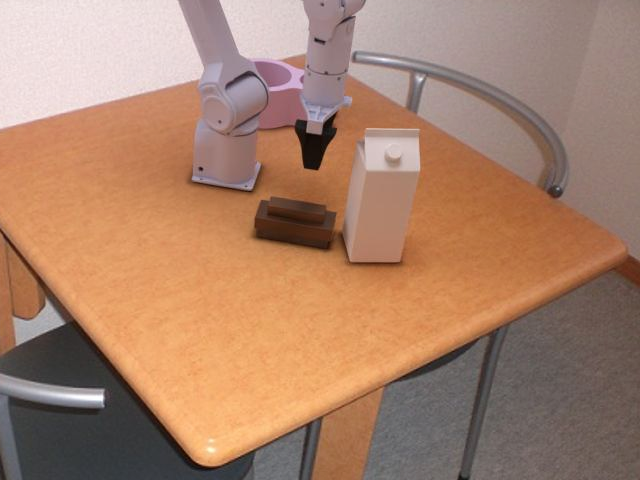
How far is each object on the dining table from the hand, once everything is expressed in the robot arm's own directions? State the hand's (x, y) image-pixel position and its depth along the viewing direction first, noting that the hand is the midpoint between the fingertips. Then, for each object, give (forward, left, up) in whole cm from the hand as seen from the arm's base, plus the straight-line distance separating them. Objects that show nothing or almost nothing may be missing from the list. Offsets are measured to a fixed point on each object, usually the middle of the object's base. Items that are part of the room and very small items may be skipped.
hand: (315, 154), depth 126 cm
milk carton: (+10, -7, -10) cm, 16 cm away
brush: (-1, -7, -9) cm, 12 cm away
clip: (-10, +28, -10) cm, 31 cm away
